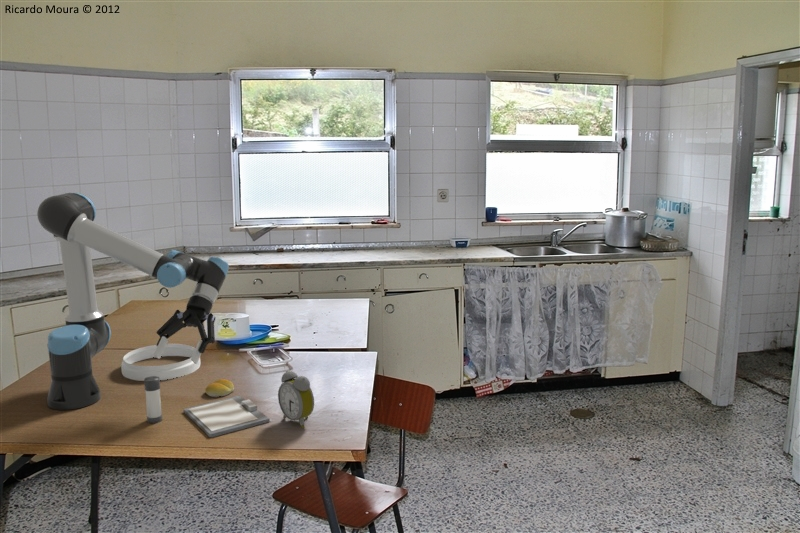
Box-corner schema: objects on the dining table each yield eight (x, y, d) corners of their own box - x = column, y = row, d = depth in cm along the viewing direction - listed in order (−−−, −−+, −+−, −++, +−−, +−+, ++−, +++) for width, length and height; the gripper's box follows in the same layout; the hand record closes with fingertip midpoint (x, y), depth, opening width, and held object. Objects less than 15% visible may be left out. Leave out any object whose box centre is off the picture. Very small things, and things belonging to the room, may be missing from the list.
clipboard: (183, 411, 200) (183, 404, 200) (239, 398, 211) (239, 391, 211) (210, 437, 183) (210, 429, 183) (269, 421, 194) (269, 414, 193)
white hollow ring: (149, 387, 221) (148, 372, 220) (107, 370, 237) (105, 356, 236) (215, 366, 242) (215, 352, 241) (172, 352, 258) (171, 338, 257)
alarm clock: (277, 419, 196) (276, 371, 193) (296, 412, 200) (295, 365, 197) (301, 431, 187) (299, 381, 185) (320, 424, 192) (319, 375, 189)
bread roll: (201, 395, 214) (200, 384, 213) (218, 386, 222) (217, 375, 221) (221, 399, 211) (221, 387, 210) (238, 390, 219) (238, 378, 218)
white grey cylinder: (145, 419, 195) (142, 378, 192) (159, 416, 197) (156, 375, 195) (149, 424, 191) (146, 382, 189) (164, 421, 194) (161, 379, 191)
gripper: (240, 309, 211) (215, 369, 200) (175, 303, 219) (148, 360, 208) (230, 297, 205) (203, 358, 194) (164, 291, 213) (135, 349, 202)
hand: (174, 359), depth 201 cm, fingers open, 13 cm apart
